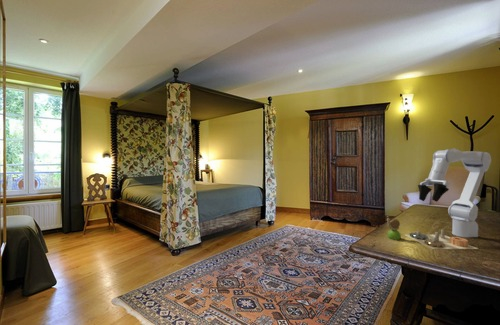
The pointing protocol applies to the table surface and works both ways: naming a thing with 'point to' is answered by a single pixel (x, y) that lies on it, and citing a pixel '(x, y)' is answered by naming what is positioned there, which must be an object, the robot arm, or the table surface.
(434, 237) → the gear board
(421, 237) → the gear
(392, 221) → the snail figurine
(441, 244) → the gear
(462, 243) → the idler gear
